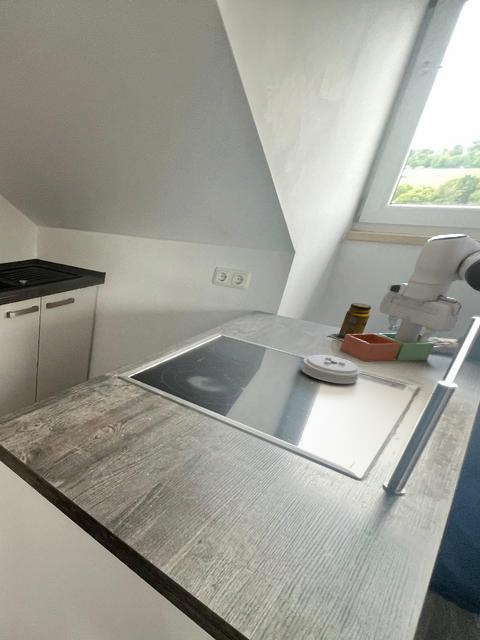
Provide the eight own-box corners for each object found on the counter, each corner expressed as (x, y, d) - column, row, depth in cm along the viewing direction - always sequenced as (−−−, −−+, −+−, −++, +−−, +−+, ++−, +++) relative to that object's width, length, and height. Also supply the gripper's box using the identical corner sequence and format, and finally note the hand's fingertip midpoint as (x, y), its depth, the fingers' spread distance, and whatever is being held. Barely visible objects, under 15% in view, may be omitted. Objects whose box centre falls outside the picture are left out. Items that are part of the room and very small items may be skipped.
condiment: (367, 340, 134) (380, 306, 129) (347, 342, 132) (359, 308, 128) (345, 333, 141) (357, 301, 136) (326, 335, 139) (337, 303, 134)
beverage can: (404, 350, 124) (420, 314, 119) (413, 356, 120) (430, 319, 115) (386, 349, 125) (400, 313, 120) (394, 354, 121) (410, 318, 116)
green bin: (398, 348, 127) (405, 332, 125) (427, 360, 119) (435, 343, 116) (370, 349, 127) (377, 333, 125) (396, 360, 119) (404, 343, 116)
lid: (320, 364, 118) (325, 349, 116) (367, 382, 107) (374, 365, 104) (289, 370, 114) (294, 355, 112) (334, 389, 103) (341, 373, 101)
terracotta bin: (368, 349, 127) (374, 333, 125) (394, 360, 119) (401, 343, 116) (339, 349, 127) (345, 333, 125) (363, 361, 119) (370, 344, 116)
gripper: (475, 300, 105) (452, 347, 111) (403, 283, 124) (387, 324, 129) (452, 301, 105) (430, 348, 111) (383, 284, 124) (368, 325, 129)
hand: (406, 335), depth 120 cm, fingers open, 8 cm apart
